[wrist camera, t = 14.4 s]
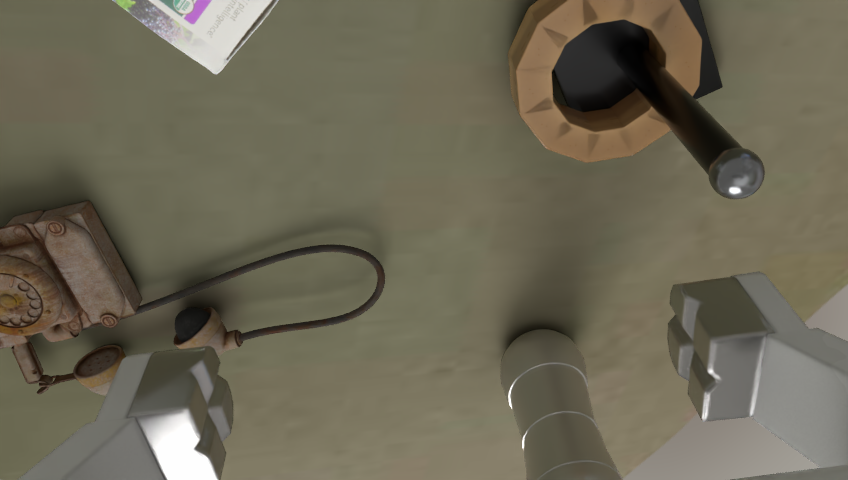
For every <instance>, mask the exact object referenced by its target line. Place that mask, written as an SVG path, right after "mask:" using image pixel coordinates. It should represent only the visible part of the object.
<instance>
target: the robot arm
mask: <svg viewBox="0 0 848 480" xmlns="http://www.w3.org/2000/svg"><path fill="white" fill-rule="evenodd" d="M670 305H671V307H672V309H673V310H674V312H675V314H676V315H675V316H674V317H673V318H672V319H671V320H670V322H669V323H668V337H667V339H668V345H669V352H670V356H671V359H672V362H673V365H674V367H675V369H676V371H677V373H678V375H679V376H681V377H683V378H684V379H686V380H688V381H689V385H688V395H689V397H690V399H691V401H692V403H693V405H694V406H695V408H696V410H697V412H698V414H699V416H700V418H701V420H702V422H705V421H714V420H725V419H734V418H744V417H753V419H754V420H755V421H756V422H758V423H759V424H760V425H762V426H763V427H765V428H766V429H767V430H769V431H770V432H771V433H773V434H774V435H776V436H777V437H778V438H780V439H781V440H783V441H784V442H785V443H787V444H788V445H790V446H791V447H792V448H794V449H795V450H796V451H798V452H799V453H800V454H802V455H803V456H805V457H806V458H807V459H809V460H810V461H811V462H813V463H814V464H816V465H817V466H818V467H820V468H817V469H809V470H801V471H793V472H785V473H778V474H770V475H762V476H755V477H747V478H740V479H732V480H848V341H845V340H843V339H841V338H839V337H836V336H834V335H832V334H830V333H828V332H825V331H823V330H821V329H819V328H813V329H809V328H808V327H807V326H806V325H805V323H804V322H803V321H802V320H801V318H800V317H799V316H798V315H797V313H796V312H795V311H794V310H793V308H792V307H791V306H790V305H789V303H788V302H787V301H786V300H785V298H784V297H783V296H782V295H781V293H780V292H779V291H778V290H777V289H776V287H775V286H774V285H773V284H772V282H771V281H770V280H769V279H768V277H767V276H766V275H765V274H764V273H761V272H753V273H747V274H740V275H734V276H731V277H726V278H718V279H711V280H704V281H697V282H689V283H682V284H675V285H673V287H672V290H671V294H670ZM219 366H220V361H219V358H218V356H217V353H216V351H215V349H214V348H213V347H211V346H203V347H194V348H185V349H176V350H167V351H158V352H155V353H143V354H135V355H128V356H127V357H125V358H124V359H123V360H122V361H121V363H120V365H119V368H118V370H117V372H116V374H115V377H114V379H113V381H112V384H111V386H110V388H109V390H108V393H107V395H106V397H105V399H104V402H103V404H102V406H101V409H100V411H99V413H98V415H97V418H96V420H95V422H94V423H87V424H85V425H84V426H83V427H81V428H80V429H79V430H78V431H76V432H75V433H74V434H73V435H72V436H70V437H69V438H68V439H67V440H65V441H64V442H63V443H62V444H61V445H59V446H58V447H57V448H56V449H54V450H53V451H52V452H51V453H50V454H48V455H47V456H46V457H45V458H43V459H42V460H41V461H40V462H38V463H37V464H36V465H35V466H34V467H32V468H31V469H30V470H29V471H27V472H26V473H25V474H24V475H23V476H21V477H20V478H19V479H18V480H220V479H221V475H222V470H223V466H224V461H225V457H226V451H225V449H224V446H223V443H222V442H223V441H224V440H225V438H226V437H227V436H228V435H229V434H230V433H231V429H232V424H233V400H232V395H231V391H230V388H229V385H228V382H227V381H226V380H225V379H223V378H222V377H220V376H219V375H217V374H218V370H219Z"/></svg>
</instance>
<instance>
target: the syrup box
mask: <svg viewBox="0 0 848 480" xmlns="http://www.w3.org/2000/svg"><path fill="white" fill-rule="evenodd" d="M113 1H114V2H116V3H117V4H118V5H119V6H121V7H122V8H124V9H125V10H126V11H128V12H129V13H130V14H132V15H133V16H134V17H135V18H137V19H138V20H139V21H141V22H142V23H143V24H144V25H146V26H147V27H148V28H149V29H151V30H152V31H154V32H155V33H156V34H158V35H159V36H160V37H162V38H163V39H165V40H167V41H168V42H169V43H170V44H172V45H174V46H175V47H176V48H177V49H179V50H181V51H182V52H184V53H185V54H186V55H188V56H189V57H191V58H192V59H194V60H195V61H197V62H199V63H200V64H201V65H203V66H205V67H206V68H207V69H209V70H210V71H211V72H212V73H213V74H216V75H217V74H218V73H219V72H221V71H222V69H223V68H224V67H225V65H226V64H227V63H228V62H229V60H230V59H231V58H232V57H233V55H234V54H235V53H236V52H237V51H238V50H239V48H240V47H241V46H242V45H243V44H244V43H245V42H246V40H247V39H248V38H249V37H250V36H251V35H252V33H253V32H254V31H255V30H256V29H257V28H258V26H259V25H260V24H261V23H262V22H263V20H264V19H265V18H266V17H267V16H268V14H269V13H270V12H271V10H272V9H273V8H274V6H275V5H276V3H277V2H278V0H113Z"/></svg>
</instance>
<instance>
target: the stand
mask: <svg viewBox="0 0 848 480" xmlns="http://www.w3.org/2000/svg"><path fill="white" fill-rule="evenodd" d="M680 2H681V4H682V6H683V7H684V9H685V11H686V12H687V14H688V16H689V17H690V19H691V21H692V23H693V24H694V26H695V28H696V29H697V31H698V33H699V34H700V36H701V39H702V48H701V64H700V80H699V86H698V88H697V90H696V92H695V93H694V95H693V96H692V95H691V94H690V93H689V92H688V91H687V90H686V89H685V88H684V87H683V86H682V85H681V84H680V83H679V82H678V81H677V80H676V79H675V78H674V77H673V76H672V75H671V74H670V73H669V72H668V71H667V70H666V69H665V68H664V67H663V66H662V65H661V64H660V63H659V62H658V61H657V59H656V58H655V57H654V56H653V55H652V54H651V53H650V52H649V37H648V35H647V34H646V32H645V30H644V29H643V27H642V26H639V25H637V24H634V23H632V22H629V21H627V20H625V19H623V20H617V21H610V22H604V23H598V24H592V25H591V26H590V27H588V28H587V29H586V30H584V31H583V32H582V33H580V34H579V35H578V36H576V37H575V38H573V39H572V40H571V41H569V42H568V43H567V44H565V46H564V48H563V50H562V53H561V55H560V57H559V59H558V61H557V63H556V65H555V67H554V69H553V72H554V75H555V77H556V80H557V82H558V84H559V87H560V89H561V91H562V94H563V96H564V99H565V101H566V103H567V106H568V107H570V108H572V109H575V110H578V111H581V112H589V111H595V110H602V109H608V108H611V107H612V106H614V105H615V104H617V103H618V102H619V101H621V100H622V99H624V98H625V97H627V96H628V95H629V94H631V93H632V92H634V91H635V90H636V88H637V89H638V90H639V92H640V93H641V94H642V95H643V96H644V98H645V99H646V100H647V101H648V102H649V104H650V105H651V106H652V107H653V109H654V110H655V111H656V112H657V113H658V115H659V116H660V117H661V118H662V119H663V121H664V122H665V123H666V124H667V126H668V127H669V128H670V129H671V130H672V132H673V133H674V134H675V135H676V136H677V138H678V139H679V140H680V141H681V142H682V144H683V145H684V146H685V147H686V149H687V150H688V151H689V152H690V153H691V155H692V156H693V157H694V158H695V159H696V161H697V162H698V163H699V164H700V166H701V167H702V168H703V169H704V170H705V172H706V173H707V174H708V175H709V181H710V184H711V186H712V187H713V189H714V190H715V191H716V192H717V193H718V194H719V195H721V196H723V197H725V198H728V199H743V198H746V197H748V196H750V195H752V194H754V193H755V192H756V191H757V190H758V189H759V188H760V186H761V184H762V182H763V180H764V174H765V170H764V165H763V163H762V161H761V159H760V158H759V157H758V156H757V155H756V154H755V153H754V152H752V151H750V150H748V149H744V148H742V147H741V146H740V144H739V143H738V142H737V141H736V140H735V139H734V138H733V137H732V136H731V135H730V134H729V133H728V132H727V131H726V130H725V129H724V128H723V127H722V126H721V125H720V124H719V123H718V122H717V121H716V120H715V119H714V118H713V117H712V116H711V115H710V114H709V113H708V112H707V111H706V110H705V109H704V108H703V107H702V106H701V105H700V104H699V102H698V101H697V100H696V99H698V98H700V97H702V96H704V95H707V94H709V93H711V92H713V91H715V90H717V89H720V88H722V83H721V79H720V76H719V72H718V69H717V65H716V62H715V58H714V55H713V51H712V48H711V44H710V41H709V37H708V34H707V30H706V26H705V23H704V19H703V16H702V12H701V9H700V5H699V2H698V0H680Z"/></svg>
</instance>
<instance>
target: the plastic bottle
mask: <svg viewBox="0 0 848 480" xmlns="http://www.w3.org/2000/svg"><path fill="white" fill-rule="evenodd" d="M501 385H502V387H503V390H504V393H505V395H506V398H507V401H508V402H509V404H510V406H511V408H512V410H513V413H514V416H515V419H516V422H517V425H518V428H519V431H520V435H521V439H522V446H523V450H524V459H525V466H526V476H527V480H623V479H622V477H621V475H620V473H619V471H618V470H617V468H616V466H615V464H614V462H613V460H612V458H611V456H610V454H609V453H608V451H607V449H606V446H605V444H604V441H603V439H602V436H601V434H600V432H599V430H598V426H597V424H596V421H595V419H594V416H593V411H592V407H591V402H590V398H589V393H588V389H587V388H588V383H587V372H586V366H585V362H584V358H583V356H582V355H581V353H580V351H579V350H578V348H577V346H576V345H575V343H574V342H573V341H572V340H571V339H570V338H569V337H567V336H566V335H564V334H561V333H559V332H556V331H553V330H548V329H539V330H533V331H530V332H527V333H525V334H523V335H521V336H519V337H518V338H516V339H515V340H514V341H513V342H512V343H511V344H510V346H509V347H508V348H507V350H506V351H505V353H504V355H503V357H502V361H501Z"/></svg>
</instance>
